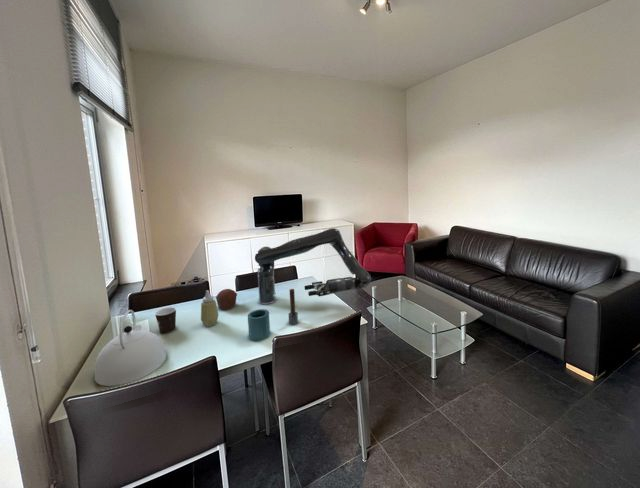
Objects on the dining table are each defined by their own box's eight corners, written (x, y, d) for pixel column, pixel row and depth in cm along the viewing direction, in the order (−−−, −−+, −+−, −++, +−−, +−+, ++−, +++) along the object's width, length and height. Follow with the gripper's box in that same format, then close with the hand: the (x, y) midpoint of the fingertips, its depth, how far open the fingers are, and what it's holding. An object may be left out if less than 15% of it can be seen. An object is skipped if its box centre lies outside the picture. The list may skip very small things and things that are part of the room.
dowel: (288, 321, 156) (286, 288, 153) (296, 319, 158) (295, 287, 155) (289, 325, 151) (288, 292, 149) (298, 323, 153) (297, 290, 151)
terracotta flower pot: (239, 307, 172) (238, 291, 171) (218, 313, 166) (217, 296, 164) (235, 300, 182) (234, 285, 180) (215, 305, 176) (213, 289, 174)
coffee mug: (159, 327, 151) (157, 309, 149) (179, 324, 154) (177, 305, 153) (153, 339, 140) (151, 319, 139) (175, 335, 144) (173, 315, 142)
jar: (248, 333, 145) (247, 311, 144) (268, 328, 149) (267, 307, 148) (249, 342, 137) (248, 320, 135) (271, 337, 141) (269, 316, 139)
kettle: (109, 354, 129) (102, 305, 126) (171, 341, 138) (166, 295, 135) (84, 393, 106) (75, 334, 103) (160, 374, 116) (154, 320, 113)
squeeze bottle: (211, 328, 150) (208, 294, 147) (197, 327, 151) (194, 293, 149) (222, 320, 157) (219, 288, 155) (209, 319, 159) (206, 287, 157)
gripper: (331, 275, 168) (303, 279, 161) (340, 283, 155) (309, 288, 149) (332, 287, 169) (303, 292, 162) (340, 297, 156) (310, 303, 150)
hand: (306, 290), depth 156 cm, fingers open, 8 cm apart
